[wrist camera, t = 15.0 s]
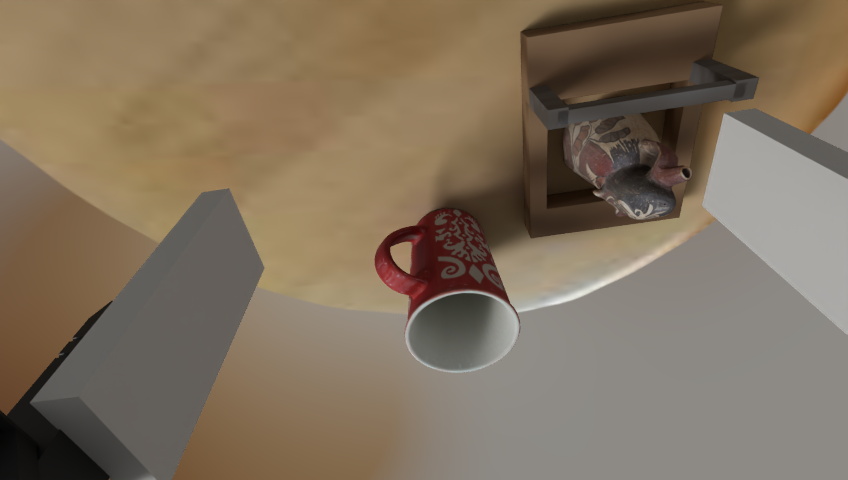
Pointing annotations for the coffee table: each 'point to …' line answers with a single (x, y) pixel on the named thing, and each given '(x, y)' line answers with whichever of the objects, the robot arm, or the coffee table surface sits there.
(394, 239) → the mug
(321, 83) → the coffee table surface
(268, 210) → the coffee table surface
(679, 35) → the wooden stand
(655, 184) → the figurine
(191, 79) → the coffee table surface
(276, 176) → the coffee table surface
